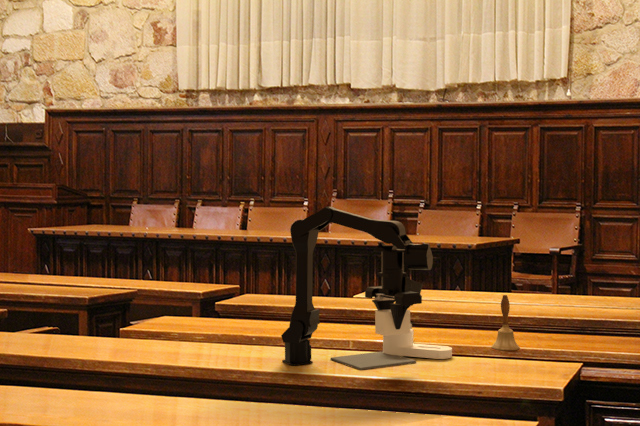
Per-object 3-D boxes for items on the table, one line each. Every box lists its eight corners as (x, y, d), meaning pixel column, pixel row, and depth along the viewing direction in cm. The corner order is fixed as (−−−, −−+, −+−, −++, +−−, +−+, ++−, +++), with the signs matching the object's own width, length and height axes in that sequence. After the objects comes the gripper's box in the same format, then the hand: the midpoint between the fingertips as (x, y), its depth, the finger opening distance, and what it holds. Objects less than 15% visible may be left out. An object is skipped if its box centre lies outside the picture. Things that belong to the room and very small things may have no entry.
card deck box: (384, 335, 210) (384, 312, 210) (375, 333, 214) (375, 310, 214) (410, 333, 214) (410, 310, 214) (400, 330, 218) (400, 308, 218)
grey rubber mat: (360, 370, 215) (360, 367, 215) (330, 359, 229) (330, 357, 229) (416, 362, 224) (416, 360, 224) (383, 353, 238) (383, 351, 238)
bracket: (379, 353, 233) (379, 330, 233) (387, 349, 241) (387, 326, 241) (448, 359, 227) (449, 335, 227) (454, 354, 235) (454, 331, 235)
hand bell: (520, 350, 240) (520, 297, 240) (491, 350, 242) (491, 296, 241) (519, 345, 248) (519, 293, 248) (491, 345, 250) (491, 293, 249)
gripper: (438, 270, 209) (439, 330, 210) (398, 264, 226) (398, 320, 226) (402, 272, 204) (403, 334, 204) (363, 266, 220) (364, 324, 221)
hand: (392, 328), depth 214 cm, fingers closed on card deck box, 4 cm apart
